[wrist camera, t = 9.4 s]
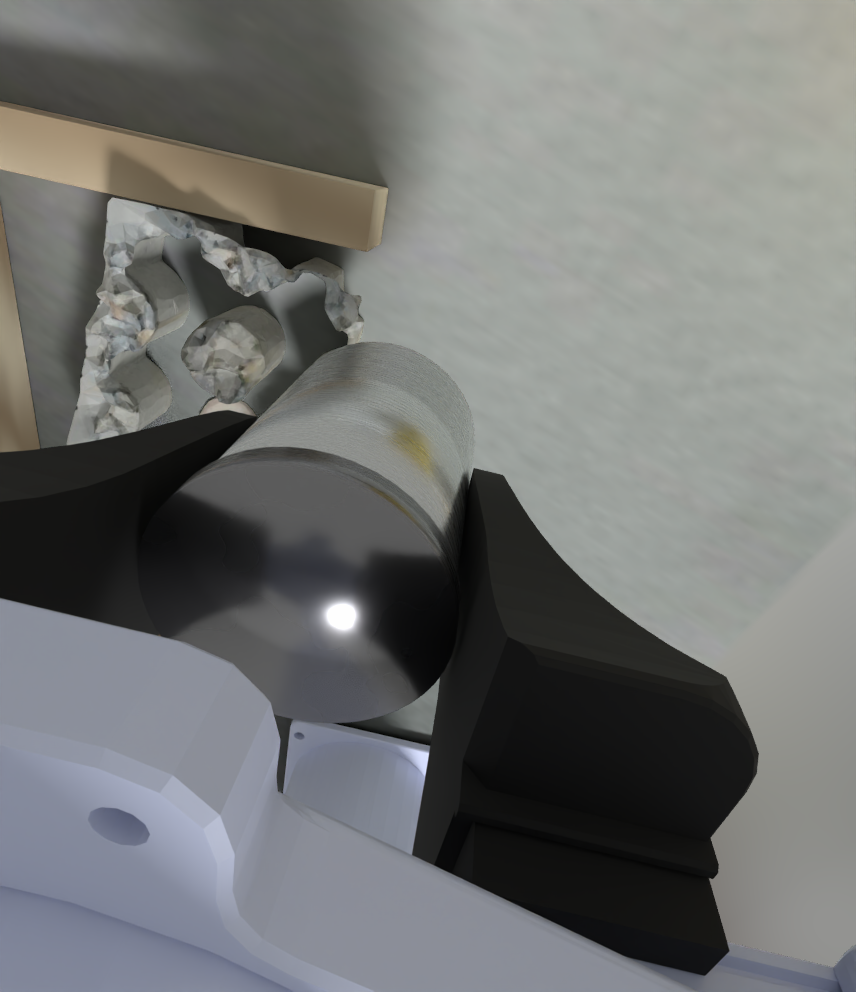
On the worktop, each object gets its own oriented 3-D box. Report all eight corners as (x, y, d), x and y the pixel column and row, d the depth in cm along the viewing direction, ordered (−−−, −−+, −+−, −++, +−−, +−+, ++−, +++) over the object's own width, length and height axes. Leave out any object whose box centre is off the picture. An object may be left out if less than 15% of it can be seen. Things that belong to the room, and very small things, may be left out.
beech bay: (320, 671, 27) (307, 706, 25) (35, 605, 27) (2, 636, 25) (388, 188, 17) (374, 190, 15) (-68, 85, 17) (-134, 75, 15)
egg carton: (291, 535, 24) (252, 600, 20) (113, 452, 23) (39, 505, 19) (401, 291, 18) (374, 322, 15) (175, 170, 17) (90, 171, 14)
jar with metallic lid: (448, 541, 15) (412, 753, 9) (272, 491, 15) (137, 676, 9) (506, 373, 12) (502, 528, 7) (297, 310, 12) (136, 422, 7)
